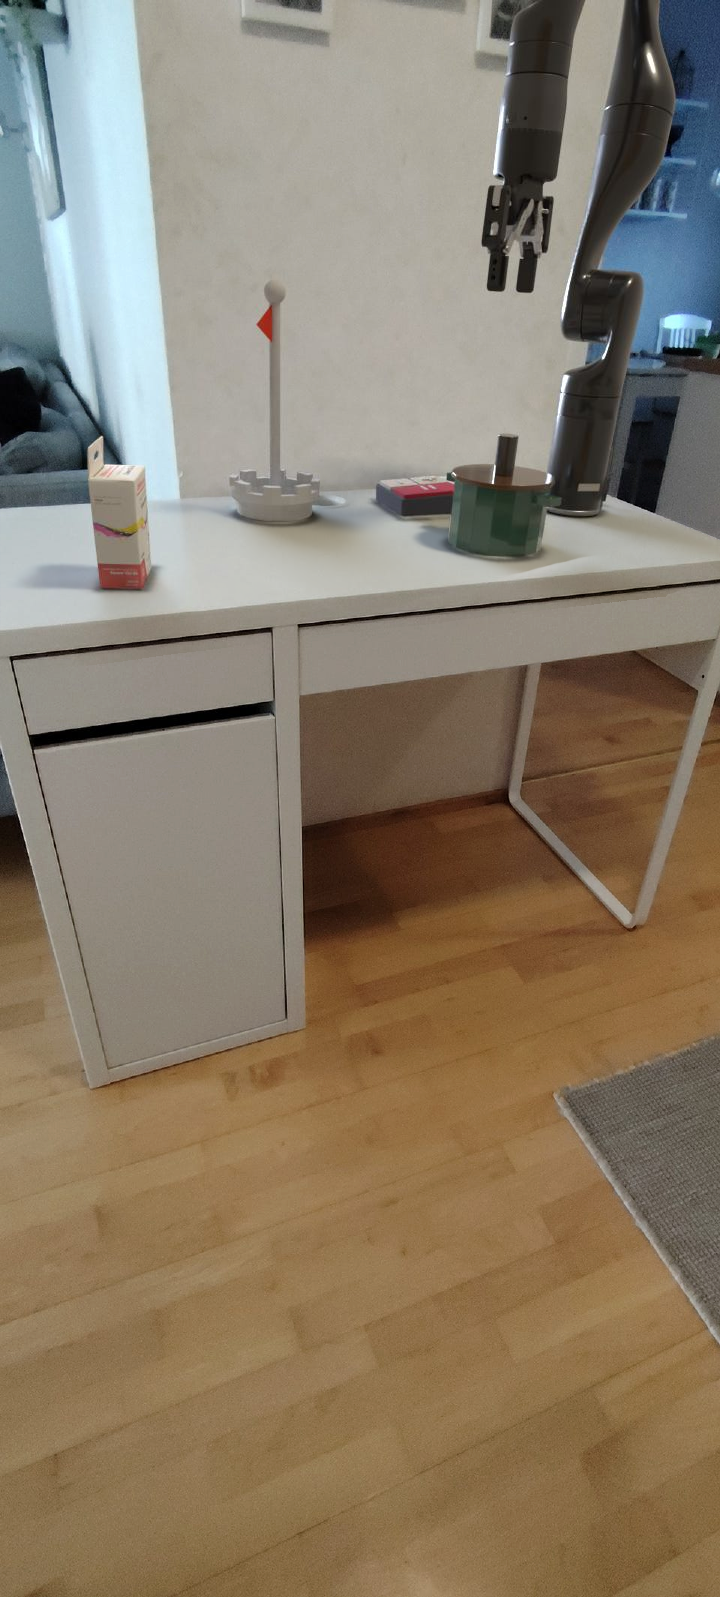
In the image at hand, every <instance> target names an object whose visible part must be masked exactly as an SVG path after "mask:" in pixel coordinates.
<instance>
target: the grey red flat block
mask: <svg viewBox="0 0 720 1597" xmlns="http://www.w3.org/2000/svg"><path fill="white" fill-rule="evenodd" d="M446 477H447V475H441V476H438V475H429V476H428V475H427V476H415V477H410V478H394V479H393V478H391V479H384V480H383V479H382V480H380V481H379V483H376V485H375V501H377V502H378V503H380V504H381V505H384V506H385V507H386V508H388V509H389V510H391V511H393V512H395V513H396V514H398V515H400V516H401V517H419V516H440V515H450V514H451V505H452V495H453V485H454V482H451V481H448V480H446Z"/></svg>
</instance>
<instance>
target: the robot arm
mask: <svg viewBox="0 0 720 1597" xmlns="http://www.w3.org/2000/svg"><path fill="white" fill-rule="evenodd" d="M585 2H586V0H536V1H535V2H533V3H532V4H529V5H528V6H526V7H524V8H523V9H521V10H519V11H518V12H517V13H516V15H515V16H514V18H513V21H512V23H511V28H510V35H509V43H508V44H509V46H508V54H507V64H506V72H505V81H504V86H503V90H502V96H501V100H500V101H501V102H500V107H499V115H498V116H499V117H498V126H497V134H496V143H495V144H496V145H495V154H494V162H493V172H492V174H493V177H494V178H495V179H496V180H500V181H503V182H502V185H501V184H499V185H498V184H497V185H496V184H493V185H492V184H490V185H489V186H488V188H487V195H486V202H485V210H484V218H483V225H482V234H481V240H480V241H481V246H482V248H486V249H487V254H488V255H489V262H488V272H487V279H486V280H487V281H486V290H487V291H488V292H496V293H499V292H500V293H502V292H504V291H506V290H505V289H506V284H507V277H508V269H509V260H510V256H509V255H510V252H511V249H512V247H513V245H514V242H515V241H516V242H517V243H518V247H519V255H520V257H521V258H519V261H518V269H517V276H516V285H515V290H516V292H517V293H519V294H520V293H523V294H531V293H533V292H534V289H535V282H536V275H537V268H538V261H539V259H540V258H541V257H542V254H547V252H548V250H549V243H550V238H551V237H550V236H551V228H552V218H553V213H554V212H553V211H554V203H555V198H554V196H553V195H544V185H545V183H551V182H553V181H555V180H556V178H557V176H558V171H559V164H560V158H561V157H560V156H561V150H562V141H563V135H564V128H565V120H566V113H567V105H568V85H569V74H570V68H571V61H572V53H573V46H574V39H575V35H576V30H577V27H578V24H579V21H580V17H581V14H582V12H583V10H584V9H583V8H584V5H585ZM660 3H661V0H624V1H623V8H622V16H621V21H620V29H619V35H618V41H617V46H616V52H615V56H614V61H613V67H612V72H611V76H610V77H611V78H610V81H609V86H608V91H607V95H606V99H605V100H606V101H605V104H604V109H603V113H602V119H601V122H600V127H599V134H598V137H597V138H598V139H597V144H596V150H595V156H594V157H595V158H594V162H593V168H592V174H591V178H590V185H589V190H588V195H587V201H586V205H585V209H584V214H583V219H582V223H581V228H580V232H579V236H578V240H577V243H576V248H575V250H574V255H573V258H572V262H571V266H570V269H569V274H568V277H567V283H566V286H565V289H564V290H565V291H564V294H563V298H562V305H561V310H560V331H561V335H562V337H563V338H564V339H565V340H567V341H571V342H576V343H577V342H579V343H580V342H581V343H587V344H588V343H590V344H602V345H605V348H604V351H603V353H602V355H601V356H599V357H598V358H597V359H595V360H594V361H592V362H590V363H588V364H585V365H581V366H579V367H574V368H571V369H568V370H566V371H565V372H564V373H563V374H562V376H561V379H560V387H559V392H558V399H557V405H556V411H555V412H556V413H555V417H554V425H553V430H552V436H551V443H550V449H549V457H548V462H547V468H546V473H548V474H550V475H552V476H553V477H554V478H555V484H554V485H553V486H552V487H551V489H550V495H554V496H558V497H561V504H560V505H559V506H554V507H547V512H549V513H552V514H557V515H562V516H568V517H592V516H596V515H598V514H600V511H602V509H603V503H604V502H607V501H606V500H607V497H608V493H609V488H610V485H611V484H610V483H611V477H609V473H610V467H611V463H612V458H613V453H614V450H613V448H612V446H613V440H614V435H615V429H616V426H617V420H618V414H619V409H620V404H621V398H622V394H623V388H624V384H625V381H626V380H625V379H626V375H627V371H628V366H629V361H630V358H631V357H630V356H631V352H632V348H633V343H634V339H635V336H636V332H637V329H638V328H637V327H638V323H639V318H640V315H641V312H642V306H643V299H644V292H645V286H644V279H643V277H642V275H641V274H640V273H639V272H636V271H631V270H630V271H629V270H619V269H618V270H617V269H599V266H600V263H601V261H602V257H603V255H604V252H605V249H606V247H607V245H608V242H609V241H610V238H612V235H613V233H614V232H615V230H616V228H617V226H618V225H619V223H620V222H621V221H622V219H623V218H624V216H625V215H626V214H627V213H628V211H629V210H630V209H631V208H632V206H633V205H634V204H635V202H637V200H638V199H639V197H640V196H642V194H643V192H644V191H645V190H646V188H648V186H649V184H650V183H651V182H652V180H653V179H654V177H655V176H656V174H657V172H658V171H659V170H660V167H661V166H662V163H663V160H664V159H665V154H666V151H667V146H668V141H669V136H670V132H671V128H672V123H673V118H674V114H675V109H676V101H677V100H676V90H675V83H674V79H673V76H672V72H671V69H670V66H669V62H668V59H667V57H666V52H665V49H664V47H663V46H664V45H663V42H662V38H661V37H662V36H661V33H660V25H659V24H660V23H659V20H660V19H659V18H660ZM491 232H492V234H491Z"/></svg>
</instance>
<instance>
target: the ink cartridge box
mask: <svg viewBox="0 0 720 1597" xmlns="http://www.w3.org/2000/svg"><path fill="white" fill-rule="evenodd" d="M96 454H97V457H95V455H96ZM146 482H147V481H146V466H145V465H140V464H138V465H137V464H105V463H104V436H103V435H101V436H99V437H98V438H97V439H95V441H93V442H92V443H91V444H90V445H89V446H88V447H87V484H88V492H89V493H88V494H89V501H90V509H91V518H92V519H91V520H92V527H93V538H94V545H95V555H96V562H97V572H98V579H99V588H100V589H118V590H119V589H123V590H124V589H125V590H143V588H144V585H145V583H146V581H147V579H148V577H149V575H150V573H151V571H152V566H153V565H152V556H151V542H150V541H151V540H150V529H149V528H150V527H149V526H150V525H149V512H148V510H149V509H148V496H147V495H148V494H147V483H146Z"/></svg>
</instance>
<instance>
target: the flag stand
mask: <svg viewBox="0 0 720 1597" xmlns="http://www.w3.org/2000/svg"><path fill="white" fill-rule="evenodd" d="M262 288H263V289H262V291H263V296H264V299H265V300H266V301H267V303H268V308H267V310H266V311H265V312H264V313H263V315H262V316H261V318H260V319H259V320H258V321H257V323H256V324H255V325H256V326H257V328H259V330H260V331H261V332H262V333H263V335H264V336H265V337H266V338H267V339H268V383H269V384H268V398H269V399H268V400H269V402H268V403H269V404H268V407H269V408H268V409H269V411H268V414H269V415H268V416H269V420H268V421H269V423H268V424H269V427H268V428H269V430H268V432H269V433H268V434H269V468H268V476H257V470H256V469H253V468H251V469H244V470H239V474H238V473H231V474H229V495H230V496H231V497H232V498H233V499H234V501H235V502H237V513H238V514H239V515H240V516H242V517H245V518H247V519H251V520H258V521H265V522H266V521H267V522H291V521H293V522H294V521H300V520H304V519H307V518H309V517H311V516H312V514H313V504H314V503H315V502H316V501H317V500H318V499H319V498H320V484H321V483H320V478H319V477H314V474H312V473H309V472H305V471H298V472H296V478H294V477H287V469H284V468H281V303H282V302H283V301H284V300H285V299H286V294H287V291H286V286H285V284H284V283H283V282H282V281H281V280H280V279H279V278H270V279H268V280H267V281H266V282H265V283H264V285H263V287H262Z"/></svg>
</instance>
